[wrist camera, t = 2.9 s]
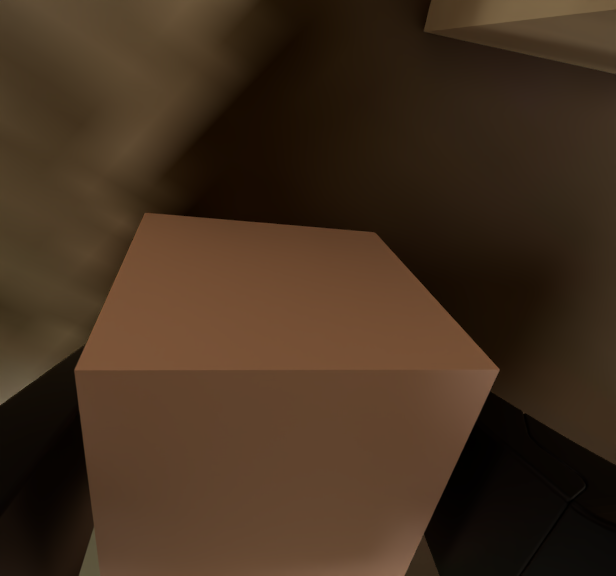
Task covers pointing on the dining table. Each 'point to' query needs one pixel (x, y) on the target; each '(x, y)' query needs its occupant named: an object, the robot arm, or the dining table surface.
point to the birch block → (533, 28)
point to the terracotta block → (270, 403)
